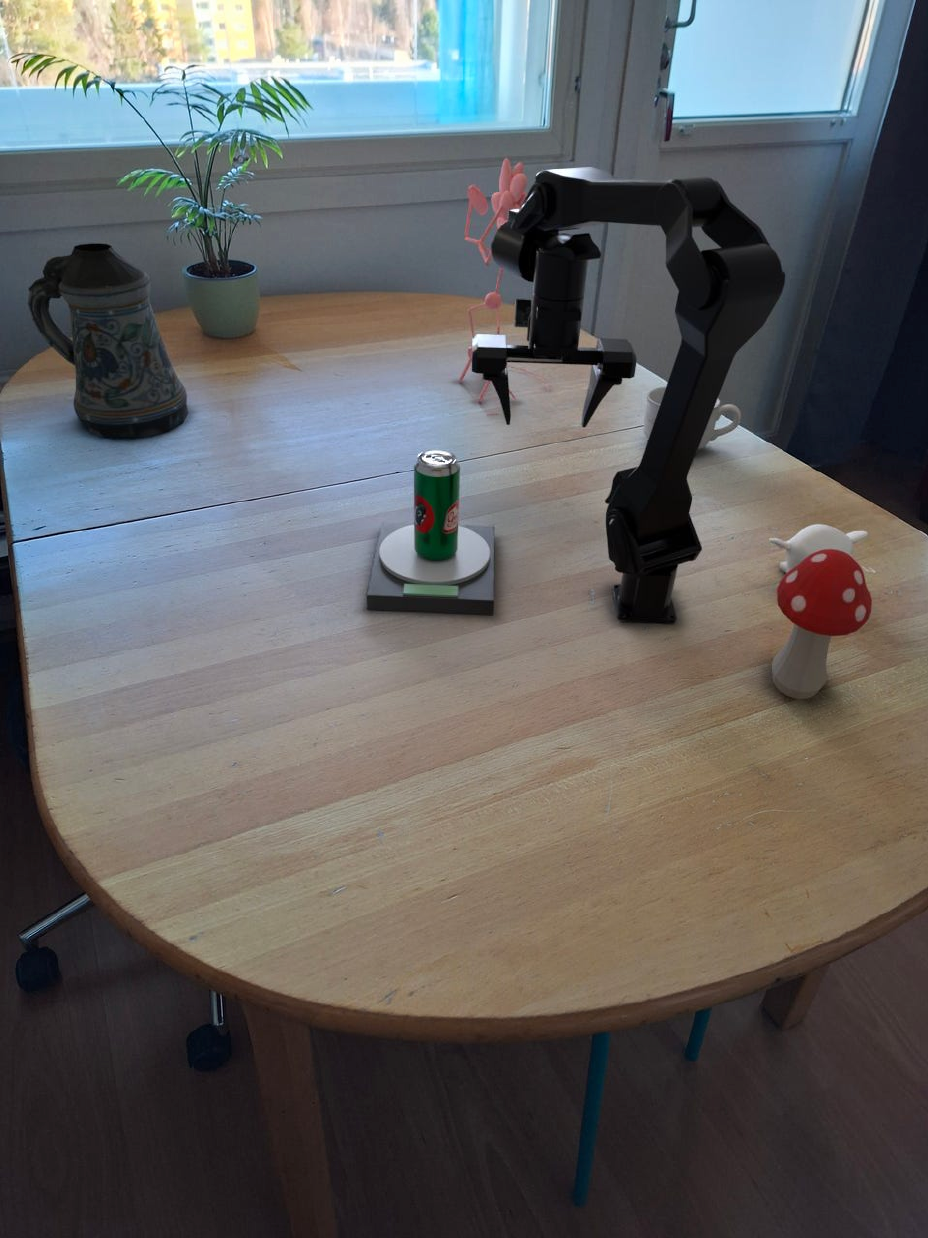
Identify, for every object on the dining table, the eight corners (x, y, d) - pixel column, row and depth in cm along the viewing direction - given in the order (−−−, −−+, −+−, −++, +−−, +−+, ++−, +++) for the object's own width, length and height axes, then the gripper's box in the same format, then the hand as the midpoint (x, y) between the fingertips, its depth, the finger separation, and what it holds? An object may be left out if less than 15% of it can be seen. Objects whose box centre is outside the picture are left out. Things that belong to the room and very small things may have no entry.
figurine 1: (492, 423, 138) (506, 178, 117) (438, 366, 157) (442, 147, 136) (579, 412, 142) (608, 175, 121) (516, 357, 162) (531, 144, 141)
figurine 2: (742, 587, 106) (788, 610, 96) (746, 519, 103) (793, 536, 94) (831, 579, 108) (884, 601, 98) (837, 512, 105) (893, 527, 96)
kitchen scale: (493, 615, 97) (494, 596, 95) (367, 609, 97) (366, 590, 95) (493, 539, 109) (494, 521, 108) (382, 535, 110) (381, 517, 108)
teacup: (629, 451, 131) (637, 400, 126) (651, 425, 139) (660, 376, 134) (720, 473, 126) (732, 421, 121) (738, 445, 134) (750, 395, 129)
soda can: (452, 566, 100) (455, 471, 92) (409, 560, 100) (408, 465, 93) (461, 543, 104) (464, 450, 96) (420, 537, 104) (420, 445, 97)
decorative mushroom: (758, 642, 94) (794, 521, 85) (841, 662, 92) (887, 540, 83) (747, 698, 87) (785, 572, 78) (838, 722, 84) (888, 595, 75)
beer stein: (197, 432, 132) (168, 258, 117) (58, 450, 125) (10, 269, 111) (182, 392, 144) (155, 229, 129) (56, 406, 138) (12, 237, 123)
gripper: (630, 276, 104) (613, 401, 113) (473, 270, 103) (469, 396, 113) (646, 305, 95) (625, 438, 104) (474, 299, 94) (469, 433, 104)
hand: (545, 424), depth 106 cm, fingers open, 9 cm apart
